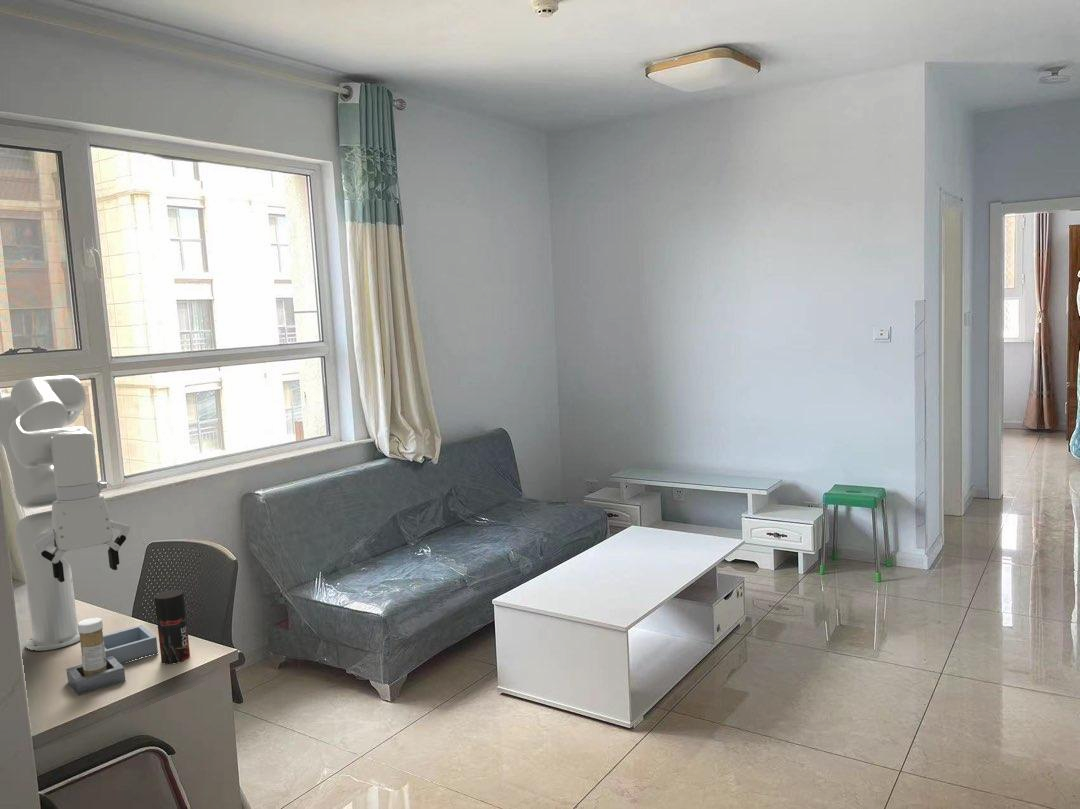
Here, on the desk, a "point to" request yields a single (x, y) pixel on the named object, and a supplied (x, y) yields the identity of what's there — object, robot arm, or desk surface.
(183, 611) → the deodorant
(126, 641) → the bin
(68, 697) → the desk surface
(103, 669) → the sprinkles bottle
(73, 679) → the socket collar
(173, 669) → the desk surface
